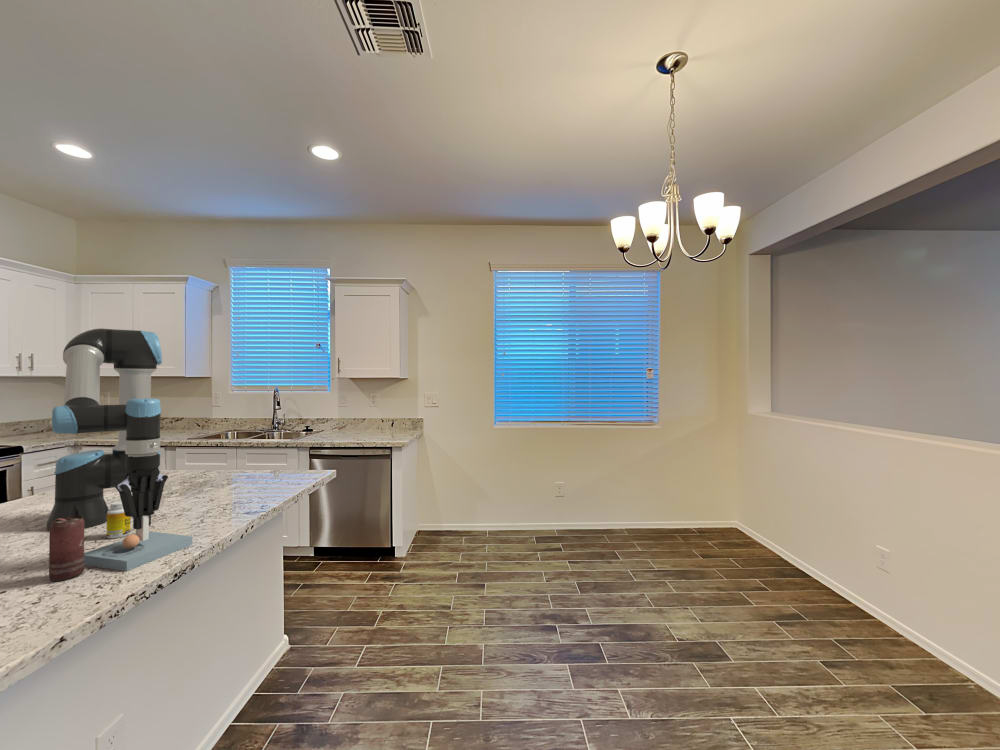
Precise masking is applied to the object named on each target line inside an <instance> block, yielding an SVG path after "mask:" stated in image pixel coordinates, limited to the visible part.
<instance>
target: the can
mask: <svg viewBox="0 0 1000 750" xmlns="http://www.w3.org/2000/svg"><path fill="white" fill-rule="evenodd" d="M48 536H49V539H48V540H49V541H48V542H49V544H48V545H49V546H48V550H49V551H48V552H49V553H48V556H49V557H48V579H49V580H50V581H51V582H65V581H69V580H72V579H75V578H78V577H80V576H81V575H82V574H84V571H85V565H84V553H85V528H84V519H83V517H81V516H72V517H65V518H58V519H56V520H54V521H52V523H51V525H50V530H49V535H48Z"/></svg>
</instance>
